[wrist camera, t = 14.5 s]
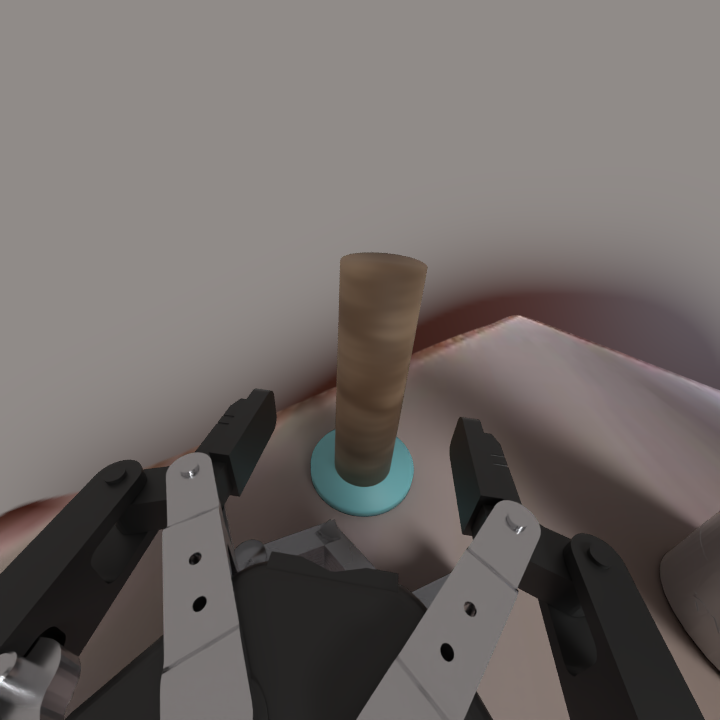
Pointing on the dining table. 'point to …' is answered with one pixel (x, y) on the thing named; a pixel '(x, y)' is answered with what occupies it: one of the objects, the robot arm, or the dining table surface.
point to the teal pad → (355, 497)
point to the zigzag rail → (322, 554)
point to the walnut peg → (373, 359)
